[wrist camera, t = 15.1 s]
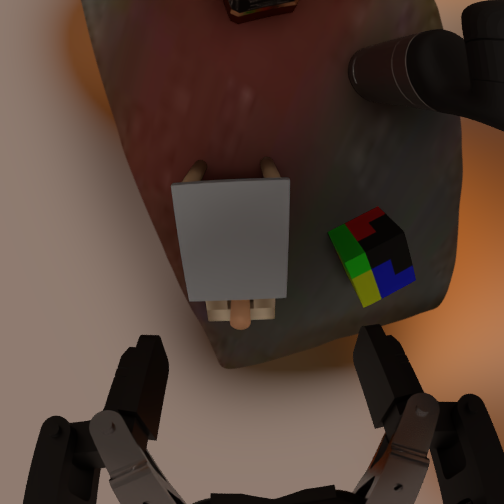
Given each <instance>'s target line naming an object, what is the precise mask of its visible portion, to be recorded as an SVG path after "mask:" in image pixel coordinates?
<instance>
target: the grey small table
mask: <svg viewBox="0 0 504 504" xmlns="http://www.w3.org/2000/svg"><path fill="white" fill-rule="evenodd" d="M260 165H261V169H262V173H263V177H264V178H249V179H226V180H209V181H201V179H202V177H203V175H204V173H205V171H206V169H207V164H206V163H205V162H204V161H203V160H198V161H196V162H195V164H194V165H193V167H192V168H191V169H190V171H189V172H188V174H187V175H186V177H185V178H184V180H183V181H182V182H180V183H173V184H172V185H171V189H172V197H173V205H174V212H175V219H176V226H177V233H178V239H179V245H180V252H181V258H182V263H183V269H184V275H185V280H186V286H187V291H188V297H189V301H222V300H250V299H272V298H286V291H287V269H288V242H289V207H290V179H289V178H281V177H280V174H279V172H278V170H277V168H276V166H275V164H274V162H273V160H272V159H271V158H270V157H264V158H263V159H262V160H261V161H260Z"/></svg>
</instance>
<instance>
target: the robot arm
mask: <svg viewBox="0 0 504 504" xmlns="http://www.w3.org/2000/svg"><path fill="white" fill-rule="evenodd" d="M461 19H462V30H463V36H464V39H463V38H461V37H460V36H458V35H457V34H455V33H453V32H450V31H446V30H442V29H436V30H429V31H425V32H421V33H416V34H412V35H409V36H405V37H401V38H397V39H393V40H390V41H386V42H383V43H380V44H376V45H373V46H370V47H366V48H363V49H361V50H359V51H357V52H356V53H355V54H354V55H353V57H352V58H351V60H350V63H349V69H348V72H349V78H350V81H351V84H352V86H353V87H354V89H355V90H356V91H357V93H358V94H360V95H361V96H362V97H363V98H365V99H367V100H369V101H372V102H378V103H386V104H393V105H400V106H407V107H414V108H420V109H426V110H432V111H437V112H442V113H447V114H453V115H457V116H461V117H465V118H469V119H472V120H475V121H478V122H481V123H484V124H486V125H489V126H491V127H494V128H496V129H499V130H502V131H504V0H488V1H481V2H477V3H474V4H471V5H470V6H468V7H467V8H465V9H464V10H463V12H462V16H461ZM353 361H354V365H355V368H356V371H357V374H358V377H359V380H360V383H361V386H362V389H363V392H364V396H365V399H366V401H367V405H368V408H369V411H370V414H371V418H372V421H373V424H374V427H375V429H376V428H380V427H384V429H385V434H384V436H383V438H382V440H381V443H380V445H379V447H378V449H377V451H376V453H375V455H374V457H373V459H372V461H371V463H370V465H369V467H368V469H367V471H366V472H365V474H364V475H363V477H362V478H361V480H360V481H359V483H358V484H357V486H356V488H355V489H354V491H353V493H351V492H348V491H343V490H335V486H334V485H330V486H324V487H317V488H311V489H304V490H301V491H299V492H296V493H293V494H290V495H287V496H283V497H280V498H277V499H268V498H262V497H256V496H250V495H245V494H217V493H211V498H208V499H204V500H201V501H198V502H195V503H193V504H414V502H415V500H416V498H417V495H418V493H419V491H420V488H421V485H422V483H423V480H424V478H425V475H426V472H427V470H428V467H429V462H430V460H429V459H428V458H427V453H428V450H429V449H430V452H431V455H432V459H433V463H434V466H435V470H436V474H437V478H438V482H439V486H440V491H441V495H442V500H443V504H504V452H503V449H502V447H501V444H500V441H499V439H498V436H497V433H496V431H495V428H494V426H493V423H492V421H491V418H490V416H489V414H488V411H487V409H486V407H485V405H484V403H483V401H482V400H481V398H480V397H478V396H476V395H474V394H466V395H463V396H462V397H461V398H460V399H459V400H458V402H438V401H437V400H436V399H435V398H434V397H433V396H431V395H430V394H427V393H424V391H423V390H422V387H421V385H420V383H419V381H418V379H417V377H416V375H415V372H414V370H413V368H412V366H411V364H410V363H409V360H408V358H407V356H406V355H405V352H404V350H403V348H402V346H401V344H400V343H399V342H398V341H397V340H396V339H395V338H394V337H393V336H392V335H387V336H386V335H385V333H384V331H383V329H382V327H381V325H380V324H376V325H368V326H362V327H361V328H360V331H359V335H358V338H357V342H356V345H355V349H354V352H353ZM168 374H169V362H168V358H167V355H166V352H165V350H164V347H163V344H162V340H161V338H160V336H159V335H141V336H140V337H139V339H138V342H137V345H136V347H129V348H128V349H127V351H125V353H124V354H123V355H122V356H121V359H120V362H119V365H118V369H117V370H116V373H115V377H114V380H113V383H112V385H111V389H110V392H109V395H108V398H107V401H106V404H105V407H104V409H103V411H101V412H99V413H97V414H96V415H95V416H94V417H93V418H92V419H91V420H90V421H84V422H75V423H69V422H68V421H67V420H66V419H65V418H63V417H61V416H52V417H50V418H48V419H47V420H45V422H44V423H43V425H42V427H41V430H40V434H39V437H38V441H37V444H36V448H35V451H34V455H33V459H32V463H31V467H30V472H29V476H28V480H27V485H26V490H25V495H24V500H23V504H96V500H97V492H98V484H99V477H100V470H101V468H106V469H107V470H108V472H109V475H110V478H111V479H110V480H109V482H110V485H111V488H112V489H113V491H114V493H115V495H116V497H117V498H118V500H119V502H120V504H186V503H185V501H184V500H183V499H182V498H181V496H180V495H179V494H178V493H177V492H176V490H175V489H174V488H173V487H172V486H171V484H170V483H169V482H168V480H167V479H166V477H165V476H164V475H163V473H162V472H161V470H160V469H159V467H158V466H157V464H156V463H155V461H154V459H153V458H152V456H151V455H150V453H149V452H148V450H147V442H148V440H157V434H158V429H159V423H160V417H161V411H162V406H163V400H164V395H165V389H166V384H167V379H168Z"/></svg>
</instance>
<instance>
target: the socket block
mask: <svg viewBox="0 0 504 504" xmlns="http://www.w3.org/2000/svg"><path fill="white" fill-rule="evenodd" d="M206 307H207V313H208V319H209V321H230V311H231V300H222V301H206ZM250 317H251V320H260V319H275V298H272V299H250Z"/></svg>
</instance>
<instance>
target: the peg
mask: <svg viewBox="0 0 504 504" xmlns="http://www.w3.org/2000/svg"><path fill="white" fill-rule="evenodd" d="M230 324H231V326H232V327H233V328H235V329H238V330H243V329H246V328H248V327H249V326H250V324H251V317H250V300H231V311H230Z"/></svg>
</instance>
